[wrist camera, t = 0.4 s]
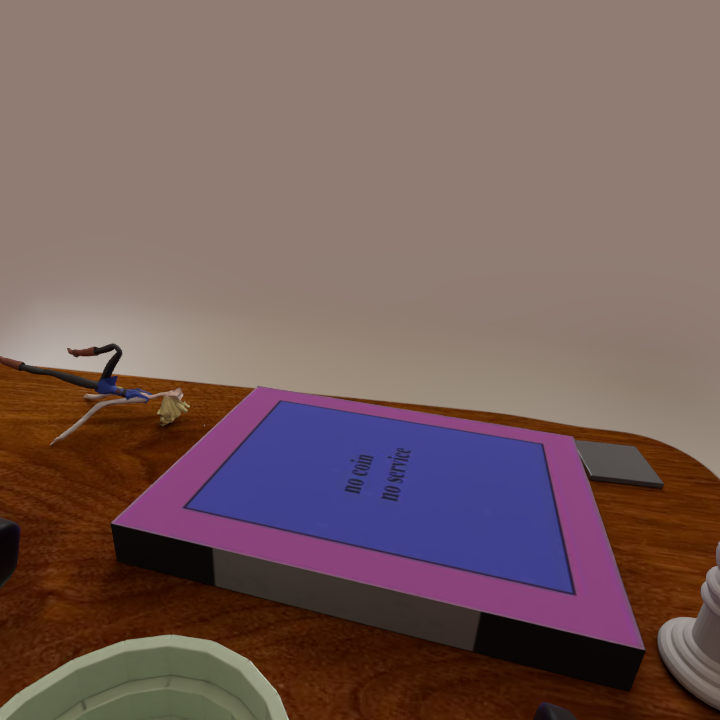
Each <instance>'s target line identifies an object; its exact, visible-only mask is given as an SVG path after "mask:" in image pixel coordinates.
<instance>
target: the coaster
mask: <svg viewBox="0 0 720 720" xmlns="http://www.w3.org/2000/svg"><path fill="white" fill-rule="evenodd" d="M575 443H576V446H577V449H578V452H579V455H580V458H581V461H582V464H583V467H584V469H585V471H586V473H587V475H588V477H589V478H590V480H596V481H605V482H613V483H622V484H631V485H639V486H648V487H657V488H663V485H664V483H663V482H662V480H661V479H660V478H659V477H658V475H657V474H656V473H655V471H654V470H653V469H652V468H651V466H650V465H649V464H648V462H647V461H646V460H645V458H644V457H643V456H642V455H641V453H640V452H639V451H638V449H637V448H636V447H635V446H625V445H616V444H607V443H598V442H589V441H579V440H575Z"/></svg>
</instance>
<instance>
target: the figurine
mask: <svg viewBox="0 0 720 720" xmlns="http://www.w3.org/2000/svg"><path fill="white" fill-rule="evenodd" d="M114 349H115V350H116V351H117V353H116V354H115V355H114V356H113V357H112V358H111V359H110V360H109V362H108V363H107V365H106V367H105V369H104V371H103V373H102V376H101V378H100V380H99V381H92V380H88V379H85V378H82V377H78V376H75V375H71V374H67V373H62V372H58V371H53V370H49V369H41V368H37V367H33V366H29V365H25V363H23V362H20V361H15V360H12V359H8V358H3V357H1V356H0V363H2V364H3V365H6V366H9V367H12V368H14V369H17V370H19V371H22V370H23V371H26V372H30V373H33V374H38V375H50V376H54V377H56V378H59V379H61V380H64V381H66V382H69V383H72V384H75V385H78V386H81V387H85V388H90V389H95V391H96V392H98V393H100V395H89V394H85V395H84V398H88V399H102V398H105V397H107V396H111V395H118V396H122V397H125V399H116V400H109V401H102V402H99V403H98V404H96V405H95V406H94V407H93V408H92V409H91V410H90V411H89V412H88V413H87V414H86V415H85V416H84V417H83V418H82V419H80V420H79V421H78V422H77V423H76V424H74V425H73V426H72V427H71V428H69V429H68V430H67V431H65V432H64V433H63V434H61V435H60V436H59V437H58V438H56V439H54V440H53V442H52V443H51V444H50V445H52V444H53V443H54V442H57V441H59V440H63V439H65V438H66V437H67V436H68V435H69V434H71V433H72V432H73V431H75V430H76V429H77V428H78V427H80V426H81V425H82V424H83V423H84V422H85V421H87V419H88V418H90V417H91V416H92V415H93V414H94V413H95V412H96V411H97V410H99V409H100V408H102V407H104V406H109V405H116V404H126V403H142V402H143V403H147V402H148V399H156V398H158V397H160V396H163V395H164V398H163V401H162V405H161V408H160V410H159V411H158V412H157V414H158V415H160V416H161V418H160V421H161V422H162V423H163V425H162V424H160V423H159V422H158V423H159V424H160V425H162V426H164V425H166V424H168V423H169V422H171V423H172V422H173V421H174V419H175V418H178V417H179V415H180V414H181V411H182V412H184V413H186V412H187V409H186V408H185V407H184V406H186V407H188V408H189V407H190V406H189V405H187V404H186V403H185V400H184V403H183V402H182V401H180V400H181V398H182V396H183V395H184V394H182V391H181V388H177V389H175V390H173V391H172V390H171V391H169V392H164V393H158V394H155V395H152V394H151V393H148V392H145V391H142V390H140V389H139V388H138V389H132V390H128V389H123V388H121V387H117V386H115V382H116V380H117V377H118V376H114V377H111V375H112V372H113V370H114V368H115V366H116V364H117V363H118V361H119V359H120V358H121V356H122V350H121V349H120V348H119V346H117V345H116V344H109V345H106V346H104V347H101V348H97V347H91V348H88V349H83V350H71V349H69V348H67V350H68V352H69V353H70V354H72V355H73V356H75V357H78V356H97V355H99V354H102V353H106V352H110V351H112V350H114ZM192 407H193V406H192ZM175 412H176V413H175ZM204 426H205V425H204Z"/></svg>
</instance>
